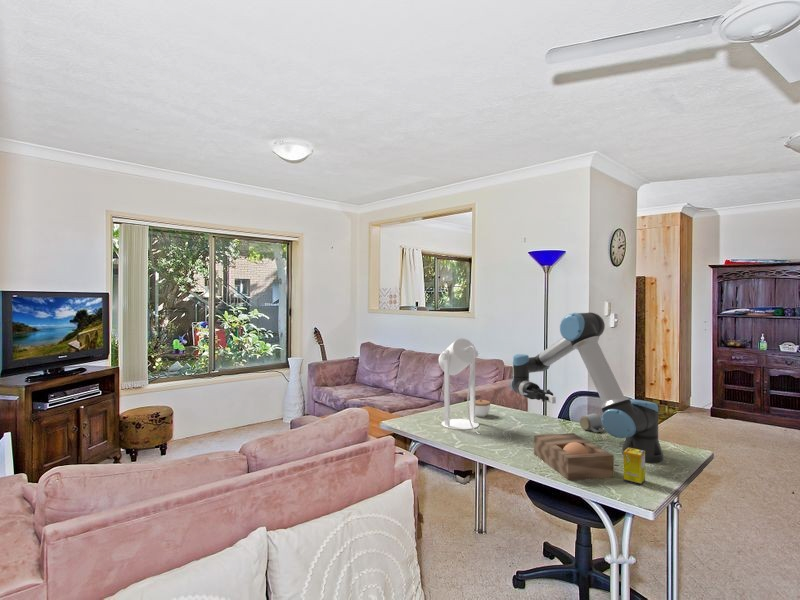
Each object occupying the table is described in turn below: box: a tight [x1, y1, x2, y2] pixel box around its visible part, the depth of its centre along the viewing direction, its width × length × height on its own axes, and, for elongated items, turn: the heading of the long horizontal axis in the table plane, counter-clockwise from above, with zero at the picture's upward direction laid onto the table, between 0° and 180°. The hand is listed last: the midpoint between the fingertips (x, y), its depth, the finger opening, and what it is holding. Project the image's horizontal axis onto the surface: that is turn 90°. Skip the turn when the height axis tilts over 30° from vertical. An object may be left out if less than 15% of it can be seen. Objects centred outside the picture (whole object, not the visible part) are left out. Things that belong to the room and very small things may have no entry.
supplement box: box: [622, 448, 646, 486], centre depth 168 cm, size 6×6×11 cm
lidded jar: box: [475, 398, 491, 418], centre depth 260 cm, size 11×11×9 cm
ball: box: [563, 442, 589, 455], centre depth 180 cm, size 10×10×10 cm
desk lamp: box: [438, 337, 481, 435], centre depth 239 cm, size 21×32×45 cm, turn 28°
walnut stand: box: [533, 432, 615, 481], centre depth 184 cm, size 28×18×8 cm, turn 9°
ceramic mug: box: [579, 413, 604, 433], centre depth 231 cm, size 11×8×8 cm
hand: (553, 400), depth 197 cm, fingers closed
